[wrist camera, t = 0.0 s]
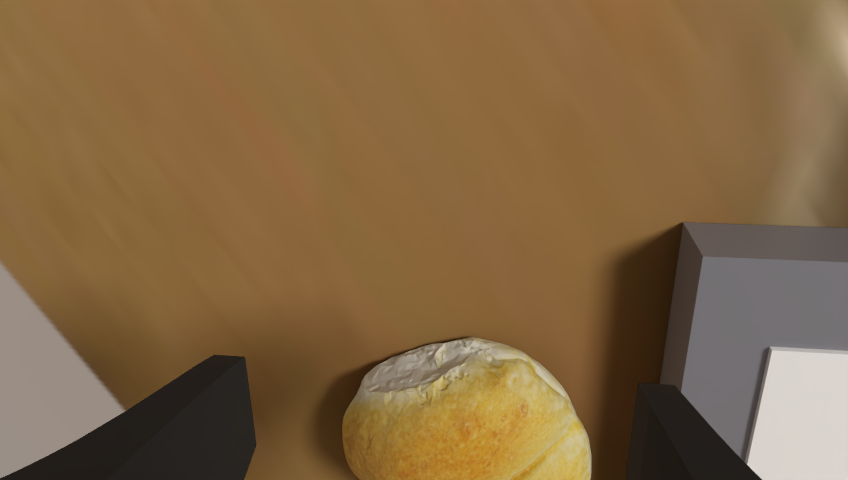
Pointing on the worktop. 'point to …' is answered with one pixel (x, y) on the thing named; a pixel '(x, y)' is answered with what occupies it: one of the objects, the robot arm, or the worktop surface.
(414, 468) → the bread roll
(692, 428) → the robot arm
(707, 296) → the socket panel
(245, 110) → the worktop surface
